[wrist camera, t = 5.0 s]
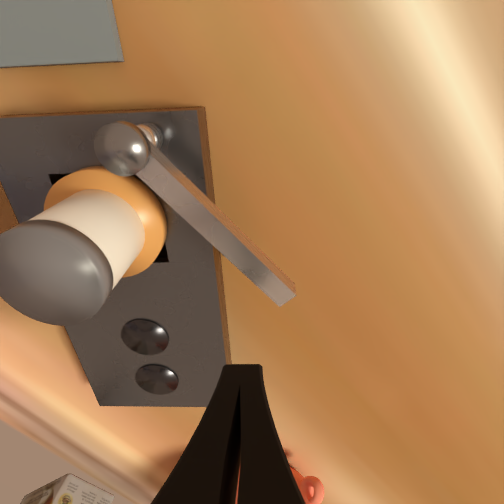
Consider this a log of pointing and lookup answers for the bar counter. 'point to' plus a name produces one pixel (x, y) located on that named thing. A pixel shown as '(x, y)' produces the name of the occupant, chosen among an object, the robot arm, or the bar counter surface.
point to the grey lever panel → (145, 283)
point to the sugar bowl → (305, 488)
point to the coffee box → (68, 493)
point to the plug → (80, 246)
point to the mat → (58, 33)
